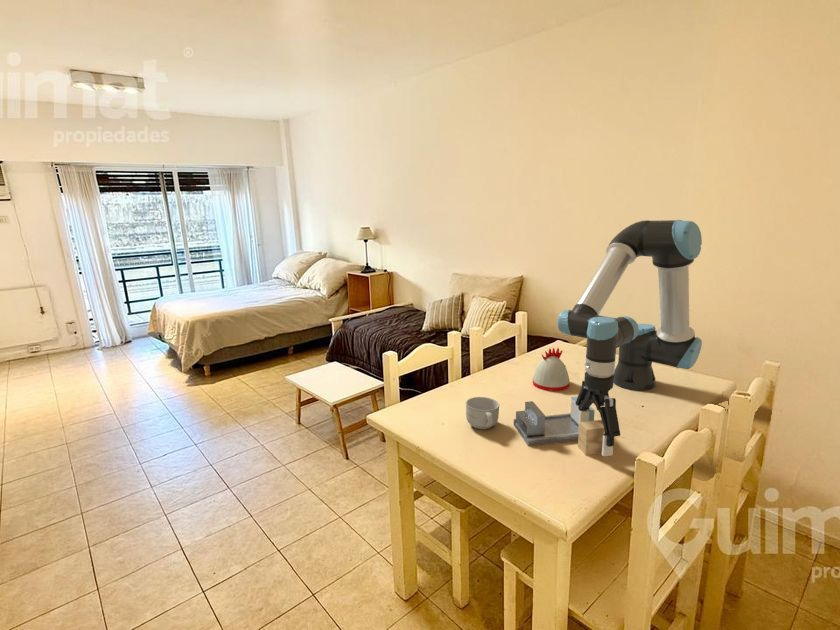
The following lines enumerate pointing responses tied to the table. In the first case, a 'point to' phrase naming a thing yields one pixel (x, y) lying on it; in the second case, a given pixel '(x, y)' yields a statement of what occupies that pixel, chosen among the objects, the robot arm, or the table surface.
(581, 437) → the oak block
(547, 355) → the white and red dome
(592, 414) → the block
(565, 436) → the vise bed
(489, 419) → the teacup
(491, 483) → the table surface
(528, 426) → the fixed jaw
